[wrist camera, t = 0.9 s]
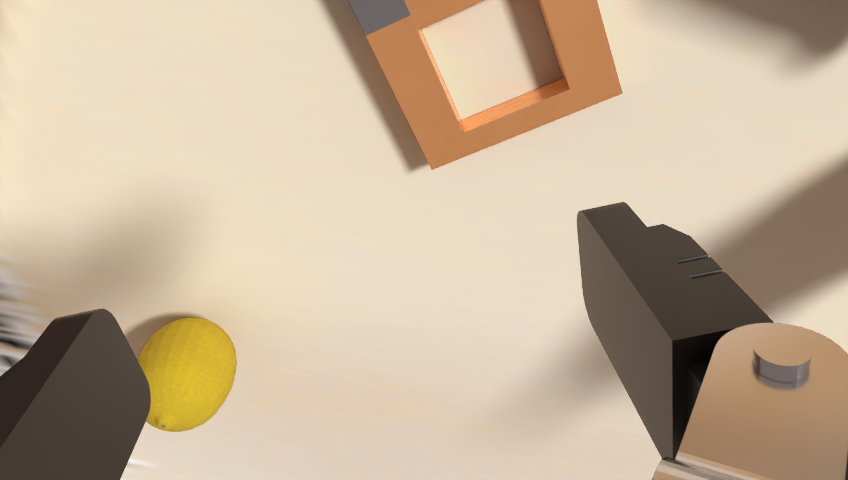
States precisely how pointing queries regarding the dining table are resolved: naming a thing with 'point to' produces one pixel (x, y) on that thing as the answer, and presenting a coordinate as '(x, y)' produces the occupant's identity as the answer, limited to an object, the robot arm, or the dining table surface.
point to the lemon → (187, 373)
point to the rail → (454, 138)
